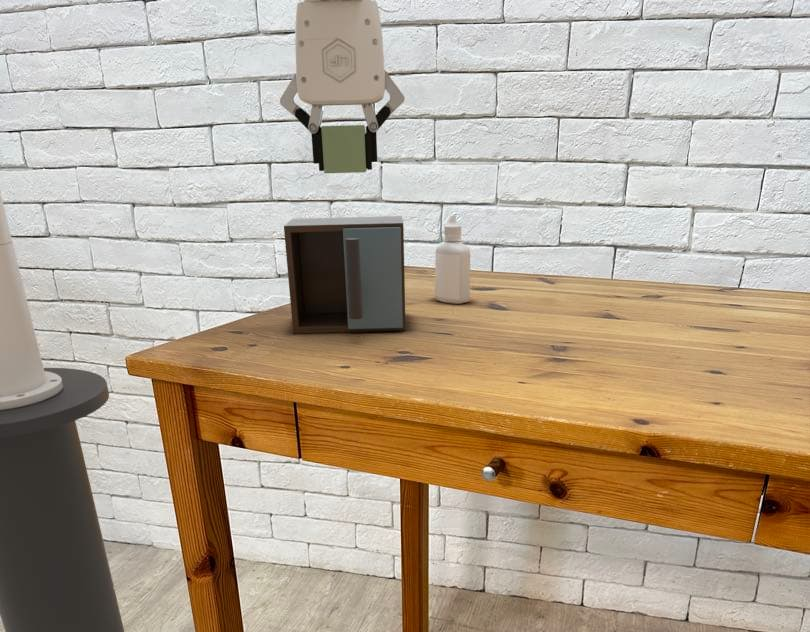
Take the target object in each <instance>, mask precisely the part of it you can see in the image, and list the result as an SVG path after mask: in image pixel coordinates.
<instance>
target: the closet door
mask: <svg viewBox="0 0 810 632" xmlns="http://www.w3.org/2000/svg"><path fill="white" fill-rule="evenodd" d="M343 242H344V260H345V279H346V297H347V315H348V329H378V328H403V315H402V269H401V228H400V227H378V228H343Z"/></svg>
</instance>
